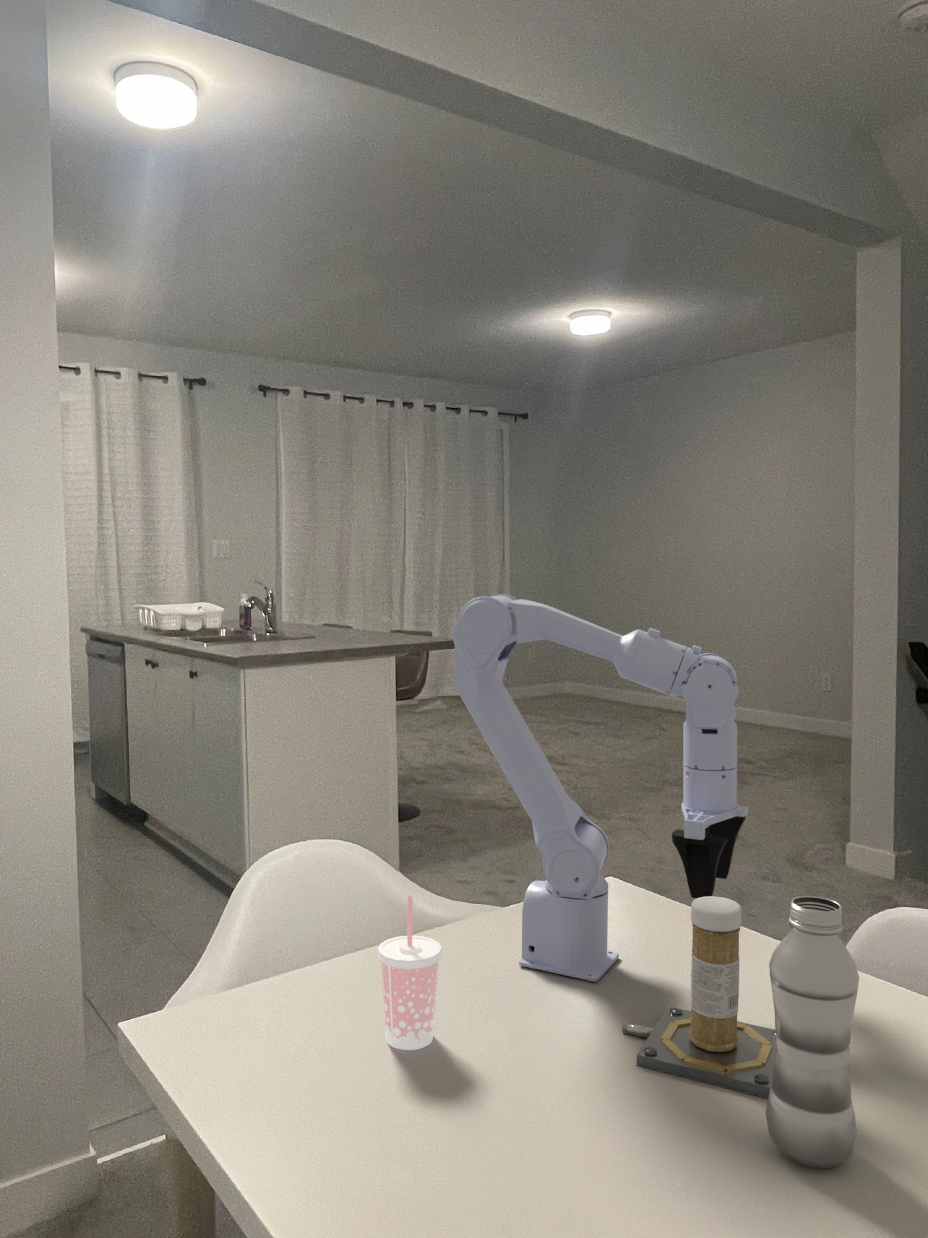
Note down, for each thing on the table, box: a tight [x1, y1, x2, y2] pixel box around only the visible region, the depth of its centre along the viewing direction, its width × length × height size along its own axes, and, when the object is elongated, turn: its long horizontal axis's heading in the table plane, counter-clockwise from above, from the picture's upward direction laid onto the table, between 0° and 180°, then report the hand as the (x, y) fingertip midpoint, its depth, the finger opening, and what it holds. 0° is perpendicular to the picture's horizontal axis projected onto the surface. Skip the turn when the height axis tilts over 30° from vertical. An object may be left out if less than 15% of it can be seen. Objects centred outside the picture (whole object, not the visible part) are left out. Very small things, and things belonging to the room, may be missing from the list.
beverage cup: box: [377, 895, 443, 1051], centre depth 93 cm, size 6×6×14 cm
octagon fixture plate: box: [621, 1005, 776, 1100], centre depth 91 cm, size 15×11×1 cm
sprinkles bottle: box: [689, 895, 742, 1052], centre depth 90 cm, size 5×5×13 cm
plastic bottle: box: [765, 895, 860, 1169], centre depth 75 cm, size 6×7×20 cm
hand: (709, 887), depth 106 cm, fingers open, 7 cm apart
